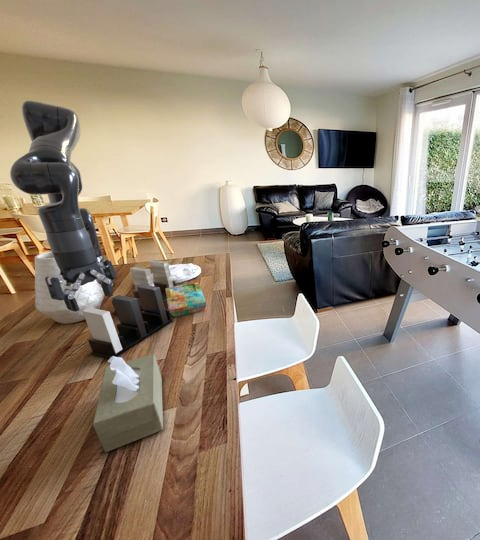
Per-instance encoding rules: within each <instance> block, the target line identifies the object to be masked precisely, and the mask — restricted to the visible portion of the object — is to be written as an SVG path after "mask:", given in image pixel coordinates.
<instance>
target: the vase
mask: <svg viewBox="0 0 480 540" xmlns="http://www.w3.org/2000/svg"><path fill="white" fill-rule="evenodd" d="M57 275H60V269H59V267H58V266H57V263H56V261H55V258H54V256H53V253H52V251H46V252H43V253H39V254H37V255H36V256H34V308H35V310H36V311H37V312H39V313H40V314H43V316H46V317H47V318H49V319H51V320H53V321H55V322H57V323H58V324H62V325H63V324H65V325H66V324H67V325H68V324H75V323H79V322H83V321H86V319H85V317H84V314H83V312H82V311H84V310H86V309H88V308H94V309H99V310H101V306H102V303H103V300H104V298H105V295H104V292H103V289H102V287H101V285H100V284H99V283H98V282H97V281H96V280H95V281H93V282H88V283H87V284H85V285H82V286H81V285H80V287H79V289H78V290H77V291H76V293H75V295H74V297H73V298H75V299H76V301H77V304H78V306H79V309H80V310H79V311H76V312H75V311H71V310H69V309H67V306H66V304H65V302H64V300H56V299H52V298H51V296H50V293H49V290H48V287H47V284H46V281H45V278H46V277H47V276H50V277H53V276H57ZM65 281H66V280H64V279H62V283H61V284H60V285H61V288H62V291H63V285H64V283H65ZM71 286H73V284H71Z"/></svg>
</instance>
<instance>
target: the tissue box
mask: <svg viewBox="0 0 480 540" xmlns="http://www.w3.org/2000/svg"><path fill="white" fill-rule="evenodd" d="M107 362H108V363H110V364H109V365H108V366H106V367H105V368H104V372H103V377H102V381H101V385H100V390H99V395H98V398H97V399H98V400H97V403H96V408H95V414H94V417H93V423H92V427H93V429H94V431H95V433H96V435H97V437H98V440H99V442H100V444H101V446H102V448H103V450H104V452H105V453H108V452H110V451H113V450H115V449H118V448H121V447H123V446H125V445H128V444H131V443H134V442H135V441H138V440H141V439H143V438H145V437H148V436H151V435H153V434H156V433H158V432H159V433H160V432H161V431H163V430H164V416H163V415H164V411H163V409H164V407H163V386H162V385H163V378H162V377H163V376H162V374H161V371H160V368H159V367H160V366H159V363H158V361H157V357H156V354H154V353H151V354H147V355H145V356H141V357H137V358H134V359H130V360H127V361H125V360H124V358H123V357H119V356H117V357H115V356H112V357H111V358H110V359H107Z"/></svg>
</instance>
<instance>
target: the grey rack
mask: <svg viewBox="0 0 480 540" xmlns="http://www.w3.org/2000/svg"><path fill="white" fill-rule="evenodd" d="M137 289H138V293H139V296H140V300H141V303H142V307H143V311H141V312H140V308H139V305H138V302H137V298H135V297H133V298H132V296H128V297H126V296H127V295H120V294H117V295H115V296H113V297H111V299H112V300H113V303H114V306H115V309H116V312H117V314H116V315H117V318H118V321H119V323H117V324H116V325H115V327H116V330H117V333H118V334H117V335H118V338H119V341H120V343H121V346H122V350H121V351H119V352H118V353H115V352H114V349H113V346H112V344H111V343H108V342H104V341H100V340H95V339H93V338H88V339H87V342H88V344H89V347H90V349H91V351H90V354H91V355H92V356H95V357H100V358H103V359H107V360H109V359H110V358H111V357H112V356H115V357H119V356H121V355H122V354H124V353H125V352H127V351H129V350H130V349H132V348H134V347H135V346H137V345H138V344H139V343H141V342H143V341H145V340H146V339H147V338H149V337H151V336H152V335H154V334H155V333H157V332H158V331H160V330H161V329H163V328H165V327H166V326H168V325H170V324H171V323H172V322H174V320H173V318H172V315H171V314H170V312H169V309H168V308H165V303H164V299H162V295H161V291H160V288H159V287H155V286H149V285H143V284H142V285H140V286H138V287H137ZM112 300H111V301H112Z"/></svg>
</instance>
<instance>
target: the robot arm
mask: <svg viewBox="0 0 480 540" xmlns="http://www.w3.org/2000/svg"><path fill="white" fill-rule="evenodd" d="M21 113H22V118H23V122H24V125H25V127H26V131H27V134H28V136H29V138H30V141H31V144H30V146H29V150H28V152H27V153H25V154H24V155H22V156H20V157H19V158H18V159H16V160H15V161H14V162H13V163H12V165H11V168H10V173H9V175H10V176H9V177H10V181H11V182H12V184H13V185H14V186H15V187H16V188H17V189H18V190H20V191H21V192H23V193H25V194H27V195H28V194H29V195H35V196H39V195H47V198H48V201H49V204H45V205H41V206H39V207H38V209H37V214H38V216H39V219H40V222H41V224H42V226H43V230H44V232H45V235H46V240H47V243H48V245H49V248H50V250H51V251H52V253H53V256H54V258H55V261H56V263H57V266H58V267H59V269H60V275H57V276H53V277H50V276H47V277H46V278H45V281H46V284H47V287H48V290H49V293H50V296H51V298H52V299H56V300H64V302H65V304H66V306H67V309H69V310H71V311H75V312H76V311H79V310H80V309H79V306H78V304H77V301H76V299H75V298H73V297H74V295H75V293H76V291H77V290H78V289H79V287H80V285H81V286H82V285H85V284H87V283H88V282H93V281H95V280H96V281H97V282H98V283H99V284H100V285H101V287H102V289H103V292H104V297H109V298H111V297H112V296H113V297H114V289H113V287H114V283H113V281H114V280H117V279H118V275H117V273H116V270H115V267H114V265H113V263H112V260H111V259H106V258H105V255H104V251H103V249H102V247H101V243H100V241H99V237H98V233H97V230H96V225H95V222H94V217H93V216H92V214H91V212H90V211H89V210H88V209H87V208H85V207H80V205H79V196H80V194H81V193H82V190H83V182H82V176H81V171H80V170H79V168H78V167H77V166H76V165H75V163H73V162H72V161H71V159H72V153H73V151H74V150H75V148H76V147H77V144H79V141H80V138H81V123H80V119H79V117H78V115H77V113H76V112H75V111H73V110H72V109H69V108H66V107H63V106H60V105H59V106H58V105H54V104H50V103H44V102H42V101H36V100H25V101H23V102H22V106H21ZM51 251H50V252H51ZM62 279H64V280H66V281H65V283H64V285H63V291H62V288H61V285H60V284H61V283H62ZM71 284H73V286H71Z"/></svg>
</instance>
